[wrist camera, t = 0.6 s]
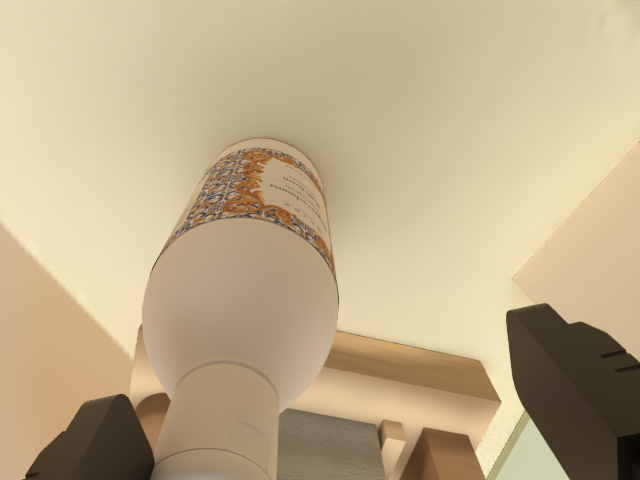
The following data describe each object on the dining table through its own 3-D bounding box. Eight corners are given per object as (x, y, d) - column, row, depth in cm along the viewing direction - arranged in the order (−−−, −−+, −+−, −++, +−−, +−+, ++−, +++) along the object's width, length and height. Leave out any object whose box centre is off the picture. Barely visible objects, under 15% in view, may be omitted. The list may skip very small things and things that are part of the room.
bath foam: (348, 190, 29) (436, 506, 11) (271, 269, 31) (233, 648, 13) (255, 109, 26) (162, 332, 8) (179, 200, 28) (-29, 538, 10)
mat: (551, 363, 34) (557, 371, 34) (699, 395, 36) (708, 403, 35) (474, 500, 40) (477, 509, 39) (606, 523, 41) (611, 532, 41)
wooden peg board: (157, 293, 31) (113, 377, 24) (480, 361, 34) (528, 454, 27) (135, 433, 36) (91, 540, 28) (420, 482, 39) (448, 590, 31)
